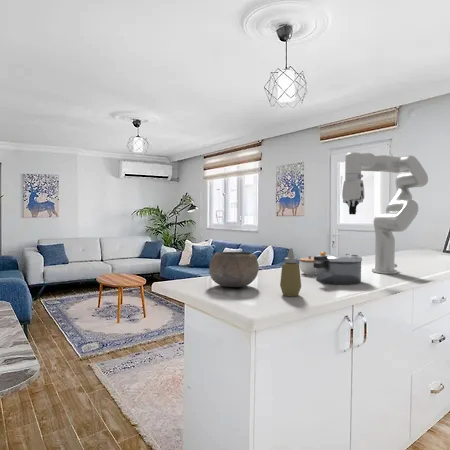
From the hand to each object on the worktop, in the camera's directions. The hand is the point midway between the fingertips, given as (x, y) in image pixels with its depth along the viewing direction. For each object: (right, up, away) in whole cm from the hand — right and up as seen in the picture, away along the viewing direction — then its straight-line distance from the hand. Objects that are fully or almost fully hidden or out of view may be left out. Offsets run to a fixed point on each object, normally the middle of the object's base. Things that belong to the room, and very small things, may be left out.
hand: (352, 214), depth 180 cm
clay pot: (-60, -32, -27) cm, 73 cm away
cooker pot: (-14, -32, -14) cm, 37 cm away
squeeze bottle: (-39, -33, -42) cm, 66 cm away
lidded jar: (-20, -31, +7) cm, 38 cm away
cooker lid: (-13, -22, -14) cm, 29 cm away
